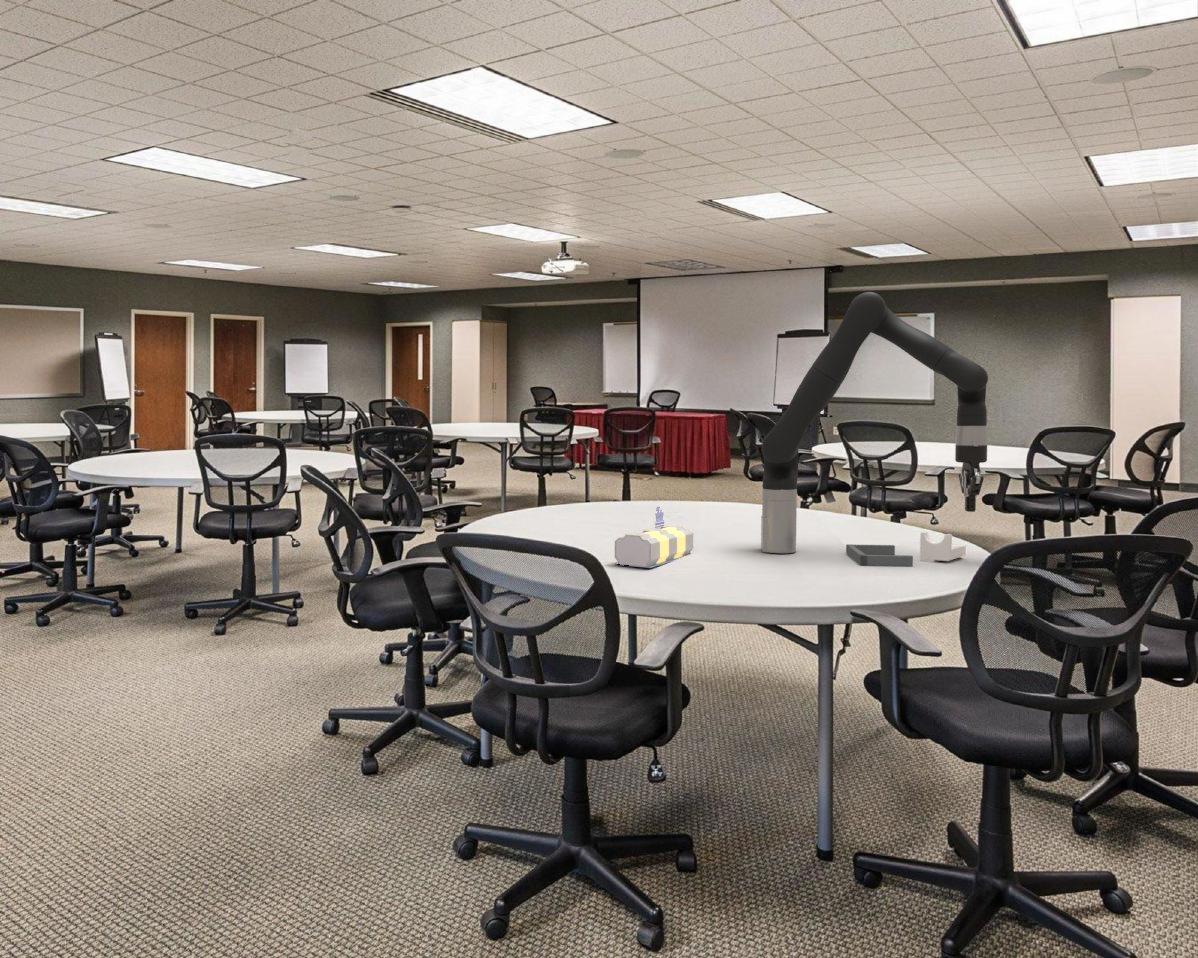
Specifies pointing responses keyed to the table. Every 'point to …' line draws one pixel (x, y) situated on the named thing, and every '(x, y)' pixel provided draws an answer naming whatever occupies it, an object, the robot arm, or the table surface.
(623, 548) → the grey yellow banded block
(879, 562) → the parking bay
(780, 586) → the table surface
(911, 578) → the table surface
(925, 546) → the bracket
